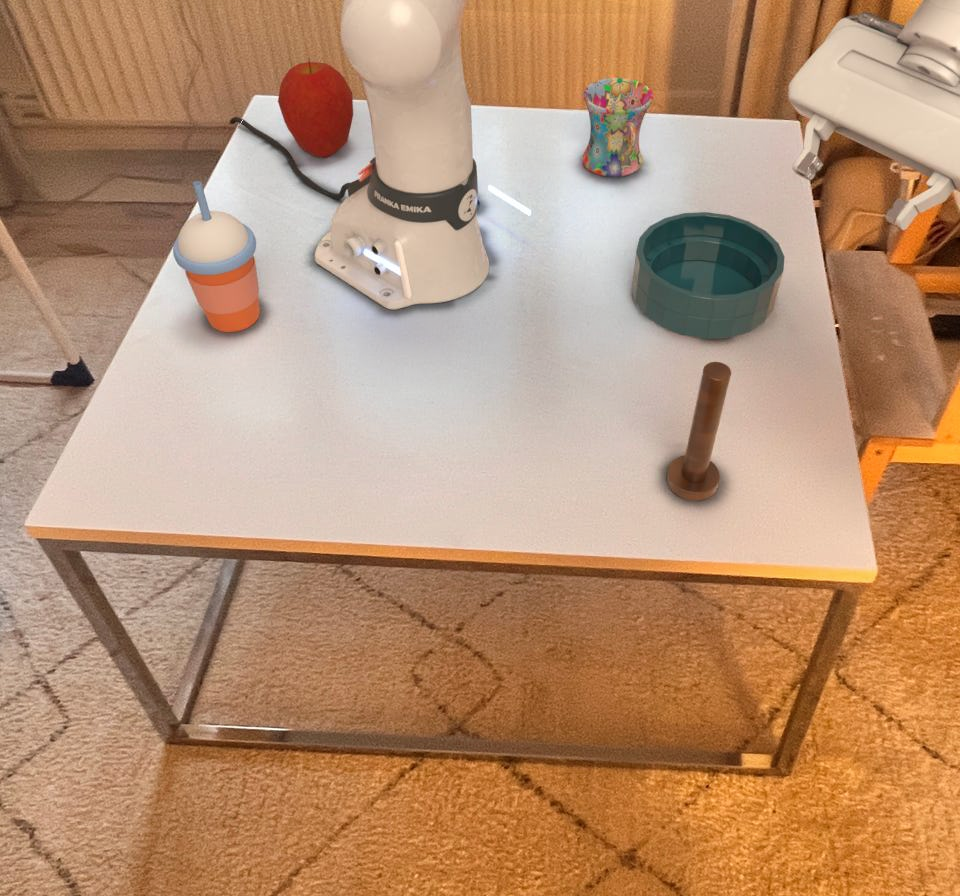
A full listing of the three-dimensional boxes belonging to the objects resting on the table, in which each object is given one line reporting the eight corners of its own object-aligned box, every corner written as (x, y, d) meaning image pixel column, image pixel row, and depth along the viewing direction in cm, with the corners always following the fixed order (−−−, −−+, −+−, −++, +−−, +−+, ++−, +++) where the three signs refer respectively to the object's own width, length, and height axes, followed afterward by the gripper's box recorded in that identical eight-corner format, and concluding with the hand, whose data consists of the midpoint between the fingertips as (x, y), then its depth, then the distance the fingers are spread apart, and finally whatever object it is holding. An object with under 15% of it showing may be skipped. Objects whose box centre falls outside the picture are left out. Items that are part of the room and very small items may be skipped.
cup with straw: (256, 345, 107) (221, 211, 94) (183, 336, 109) (138, 203, 95) (283, 296, 113) (253, 164, 100) (213, 288, 115) (174, 157, 101)
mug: (571, 152, 134) (575, 82, 126) (632, 144, 135) (640, 73, 127) (595, 197, 126) (601, 125, 118) (660, 188, 127) (670, 116, 119)
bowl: (607, 312, 110) (611, 268, 105) (667, 241, 119) (674, 197, 114) (739, 362, 103) (750, 317, 99) (792, 283, 113) (805, 238, 108)
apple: (370, 140, 138) (359, 47, 127) (338, 174, 131) (324, 79, 121) (309, 128, 140) (294, 36, 130) (275, 161, 134) (256, 67, 124)
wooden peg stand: (658, 487, 92) (678, 377, 80) (679, 455, 94) (702, 344, 83) (705, 508, 90) (733, 398, 79) (725, 475, 92) (755, 364, 81)
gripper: (840, -15, 76) (737, 133, 80) (1076, 74, 65) (945, 242, 69) (859, 24, 81) (762, 162, 85) (1082, 113, 70) (959, 268, 74)
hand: (845, 198), depth 77 cm, fingers open, 8 cm apart
